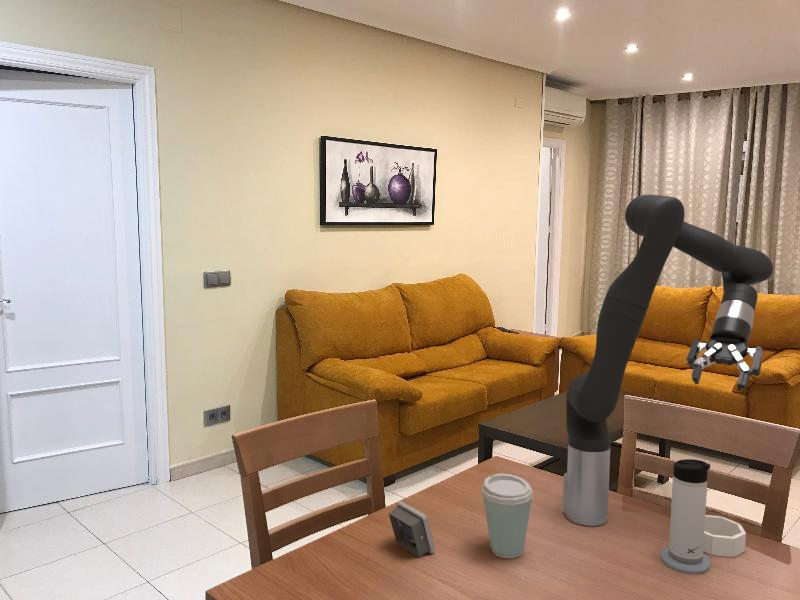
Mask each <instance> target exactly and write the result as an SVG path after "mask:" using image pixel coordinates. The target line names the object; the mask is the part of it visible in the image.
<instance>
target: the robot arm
mask: <svg viewBox="0 0 800 600" xmlns="http://www.w3.org/2000/svg"><path fill="white" fill-rule="evenodd" d="M624 213H625V214H624V218H625V219H624V220H625V223H626V226H627V227H628V229H629V230H630V231H632V232H633V233H634V234H635V235H638V236H641V237H642V240H641V243H640V245H639V248H638V250H637V252H636V254H635V256H634V257H633V259H632V261H630V263H629V264H628V265H627V267H626V268H624V270H623V271H622V272H621V273H619V275H618V276H617V277H616V278H615V279H614V280H613V282H612V283H611V284H610V286H609V288H608V289H607V292H606V293H605V297H604V299H603V301H602V304H601V305H602V306H601V308H600V311H599V315H598V320H597V325H596V340H595V341H596V342H595V350H594V356H593V358H592V359H593V360H592V362H591V365H590V367H589V371H588V372H586V373H581V374H578V375H577V376H575V377H574V378H573V379H571V381H570V383H569V385H568V387H567V391H566V401H565V402H566V405H565V406H566V409H565V413H566V426H565V427H566V431H567V437H568V438H567V439H568V441H567V465H566V466H567V468H566V469H567V470H566V472H565V473H564V474H563V484H562V485H563V489H562V490H563V491H562V513H563V514H565V516H566V517H567V520H569V521H571V522H572V523H575V524H578V525H583V526H587V527H596V526H602V525H604V524H606V523H607V522H608V509H609V508H608V507H609V492H610V491H609V490H610V489H609V487H610V486H609V485H610V462H611V459H610V458H611V434H610V431H609V428H608V422H607V419H608V418H609V417H610V416H611V415H612V414H613V413H614V411H615V409H616V407H617V404H618V400H619V396H620V392H621V387H622V384H623V380H624V375H625V371H626V368H627V365H628V363H629V360H630V358H631V355H632V352H633V349H634V347H635V344H636V341H637V338H638V336H639V334H640V330H641V329H642V326H643V324H644V320H645V317H646V315H647V312H648V309H649V306H650V303H651V301H652V297H653V295H654V292H655V289H656V287H657V284H658V281H659V280H660V279H659V278H660V276H661V274H662V271H663V268H664V266H665V264H666V261H668V257H669V256H670V254H671V251H672V250H673V248H675V249H677V250H678V251H680V252H682V253H684V254H685V255H688V256H689V257H691V258H693V259H694V260H697V261H698V262H700V263H701V264H703V265H705V266H707V267H709V268H710V269H713V270H714V271H717V272H720V273H721V277H722V289H723V294H722V299H721V302H720V306H719V308H718V310H717V312H716V315H715V320H714V323H713V326H712V331H711V334H710V336H709V337H710V338H709V340H708V342H706V343H704V342H700V341H699V340H698V339H694V340H692V343H691V346H690V349H689V351H688V354H687V357H686V361H687V365H688V367H690V368H692V373H691V380H692V382H694V383H693V384H695V385H699V383H700V380H701V377H702V373H703V370H704V369H705V368H706V367H710V366H711V365H712V364H714V363H715V364H716V365H727V366H733V365H735V366H736V367H737V369H738V370H739V371H740V372H739V376H738V380H737V385H736V386H737V391H740V392H741V391H743V389H746V388H747V385H748V382H749V377H751V376H756V377H757V376H760V375H761V369H762V362H763V355H764V354H763V349H762V347H761V346H755V348H754V347H753V348H749V347H748V344H749V341H750V337H751V333H752V330H753V327H754V325H753V324H754V318H755V310H756V306H757V304H758V303H757V302H758V291H757V290H756V288H754V287H753V286H752V285H755V284H759V283H762V282H766V281H767V280H768V279H770V277H771V276H772V275H773V273H774V265H773V262H772V260H771V258H770V257H769V256H767V255H766V254H765V253H763V252H762V251H760V250H758V249H754V248H750V247H746V246H743V245H738V244H737V245H736V244H734V243H732V242H730V241H729V240H728V239H725V238H724V237H722V236H720V235H719V234H717V233H714V232H712V231H710V230H707V229H704V228H701V227H700V226H696V225H694V224H691V223H688V222H686V221H685V217H686V216H685V206H684V204H683V202H682V201H681V200H680V199H679V198H677V197H674V196H668V195H661V194H642V195H638V196H636V197H635V198H633V199H632V200H631V201H630V202H629V203H628V204H627V206H626V208H625V211H624ZM704 350H706V351H705V352H703V353H702V351H704ZM700 353H701V354H702V355H701V356H700V357H698V356H699V354H700ZM748 355H750V358H751V359H753V360H752V366H749V365H747V363H746V362H745V360H744V358H746V357H747V356H748Z"/></svg>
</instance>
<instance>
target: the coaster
mask: <svg viewBox="0 0 800 600" xmlns="http://www.w3.org/2000/svg"><path fill="white" fill-rule="evenodd" d="M660 556H661V557H660V558H661V562H662V563H663V564H664V565H665V566H666V567H668V568H669V569H672V570H674V571H676V572H680V573H683V574H689V575H701V574H705V573H707V572H709V571H710V569H711V560H710V557H708V556H707V554H705V553H703V560H702V561H701V562H700V563H698V564H685V563H681V562H679V561H676V560H675V559H673V558H672V557H671V556H670V555H669V546H666V547H664V548H663V549H662V550H661V552H660Z"/></svg>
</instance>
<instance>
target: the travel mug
mask: <svg viewBox="0 0 800 600" xmlns="http://www.w3.org/2000/svg"><path fill="white" fill-rule="evenodd" d="M708 470H711V464H710V463H707V462H706V461H703V460H701V459H691V458H689V459H687V458H685V459H678V460H677V461H676V462H674V463H673V472H672V484H671V485H672V486H671V487H672V488H671V501H670V502H671V503H670V520H669V521H670V522H669V523H670V524H669V526H670V527H669V543H668V547H669V555H670V556H671V557H672V558H673V559H675V560H676V561H679V562H681V563H685V564H698V563H700V562H701V561H702V560H703V554H704V551H703V547H704V530H705V515H706V512H707V511H706V510H707V509H706V508H707V496H708V475H709V473H708Z"/></svg>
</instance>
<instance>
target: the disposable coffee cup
mask: <svg viewBox="0 0 800 600" xmlns="http://www.w3.org/2000/svg"><path fill="white" fill-rule="evenodd" d="M532 487H533V486H531V485H530V483H529V482H527V481H526V480H525V479H524V478H522V477H520V476H517V475H514V474H510V473H495V474H491V475H488V476H487V477H486V478H485V479H484V480H483V483H482V485H481V489H480V490H481V491H480V495H481V496H482V500H483V505H484V510H485V511H484V512H485V518H486V525H487V531H488V537H489V544H490V545H489V546H490V549H491V551H492V553H493V554H494V555H495V556H497V557H500V558H502V559H515V558H519V557H520V556H521V555H522V554H523V551H524V549H525V543H526V536H527V530H528V525H529V524H528V523H529V518H530V512H531V506H532V501H533V500H532V499H533V498H534V494H533V489H532Z"/></svg>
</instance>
